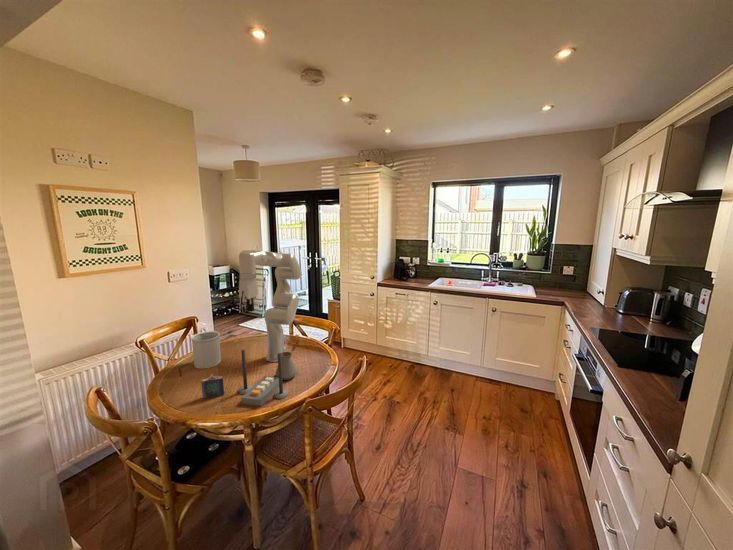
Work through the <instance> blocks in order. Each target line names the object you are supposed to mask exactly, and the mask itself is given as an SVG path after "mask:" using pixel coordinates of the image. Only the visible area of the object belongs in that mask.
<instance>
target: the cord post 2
mask: <svg viewBox="0 0 733 550" xmlns="http://www.w3.org/2000/svg"><path fill="white" fill-rule="evenodd" d="M277 367H278V373H279V388H278V389H277V390H276V391H275V392H274V393H273V395H274V396H273V397H274V399H277V400H283V399H285V398H287V397H288V395H289V390H288V389H284V388H283V387H284V385H283V384H284V383H282V382H283V380H282V362H281V353H278V362H277Z"/></svg>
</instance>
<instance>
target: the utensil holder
mask: <svg viewBox="0 0 733 550" xmlns="http://www.w3.org/2000/svg"><path fill="white" fill-rule="evenodd" d="M220 336H221V333H220V331H215V330H208V331H207V330H206V331H201V332H198V333H195V334H193V335H192V336H191V338H190V340H191V344H192V345H191V346H192V357H193V364H194V365H193V366H194V367H195V368H196V369H210V368H213V367H216V366H217V365H219V364H220V363H221V340H220V338H221V337H220Z"/></svg>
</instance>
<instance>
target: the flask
mask: <svg viewBox="0 0 733 550" xmlns="http://www.w3.org/2000/svg"><path fill="white" fill-rule="evenodd" d="M200 383H201V384H200V385H201V393H202V399H205V400H206V399H211V398H214V397H215V398H216V397H222V396H224V395H225V388H224V378H223V376H215V375H214V374H213V373H212V374H210V376H209V377H208V378H204V379H203V378H202V379H201V381H200Z"/></svg>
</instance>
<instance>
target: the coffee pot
mask: <svg viewBox="0 0 733 550" xmlns="http://www.w3.org/2000/svg"><path fill="white" fill-rule="evenodd" d="M299 344H300V340H299V339H297V341H296V342H295V343H294V345H293V347H292V350H291V351H284V352H283V353H281V362H282V381H288V380H291V379H293V378H294V377H296V375H297V374H298V373H297V372H298V369H297V367H296V364H295V362H294V361H293V359H292V355H293V352H294V351H295V349H296V347H297V345H299ZM274 373H275V377H278V378H279V373H278V366H277V368H276V370H275V372H274Z"/></svg>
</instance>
